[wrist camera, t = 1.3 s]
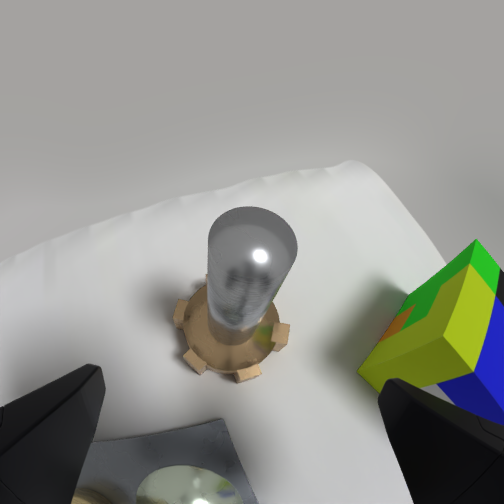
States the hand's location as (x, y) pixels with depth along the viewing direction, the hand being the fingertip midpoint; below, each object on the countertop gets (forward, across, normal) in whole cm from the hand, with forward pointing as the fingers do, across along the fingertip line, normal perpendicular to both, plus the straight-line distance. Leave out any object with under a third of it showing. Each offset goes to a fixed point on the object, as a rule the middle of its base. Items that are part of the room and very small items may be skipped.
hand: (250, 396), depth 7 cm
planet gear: (+12, 0, +5) cm, 13 cm away
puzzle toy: (+10, -17, +7) cm, 21 cm away
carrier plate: (+2, +5, +15) cm, 16 cm away
